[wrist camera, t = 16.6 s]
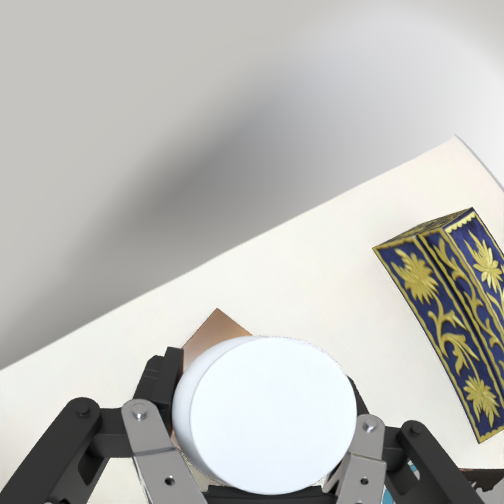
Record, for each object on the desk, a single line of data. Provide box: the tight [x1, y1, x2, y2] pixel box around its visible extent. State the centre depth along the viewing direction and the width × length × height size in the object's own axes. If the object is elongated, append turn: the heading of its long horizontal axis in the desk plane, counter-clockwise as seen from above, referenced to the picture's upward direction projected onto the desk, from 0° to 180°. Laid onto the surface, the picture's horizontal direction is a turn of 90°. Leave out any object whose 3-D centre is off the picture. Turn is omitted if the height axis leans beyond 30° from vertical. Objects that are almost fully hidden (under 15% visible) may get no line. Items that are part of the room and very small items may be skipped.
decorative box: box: [372, 207, 504, 444], centre depth 24 cm, size 11×30×9 cm, turn 28°
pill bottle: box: [172, 336, 357, 495], centre depth 11 cm, size 6×6×11 cm
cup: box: [383, 465, 504, 504], centre depth 12 cm, size 7×7×15 cm
